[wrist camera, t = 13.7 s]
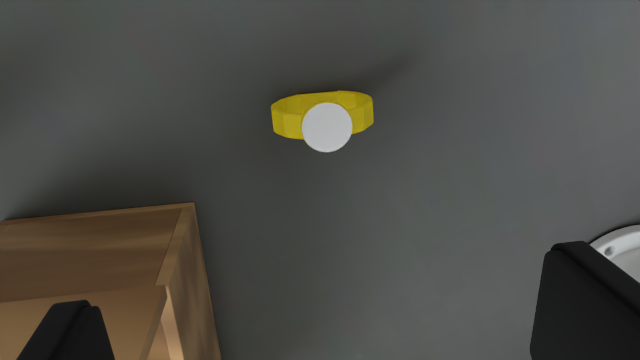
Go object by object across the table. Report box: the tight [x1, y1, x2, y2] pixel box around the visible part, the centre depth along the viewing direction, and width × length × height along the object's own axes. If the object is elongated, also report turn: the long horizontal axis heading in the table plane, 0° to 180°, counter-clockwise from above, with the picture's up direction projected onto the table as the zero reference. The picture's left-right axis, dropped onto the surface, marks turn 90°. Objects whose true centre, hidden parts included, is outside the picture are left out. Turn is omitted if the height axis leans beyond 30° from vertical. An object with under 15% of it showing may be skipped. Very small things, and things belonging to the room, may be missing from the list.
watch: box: [271, 90, 373, 152], centre depth 27 cm, size 6×3×6 cm, turn 95°
